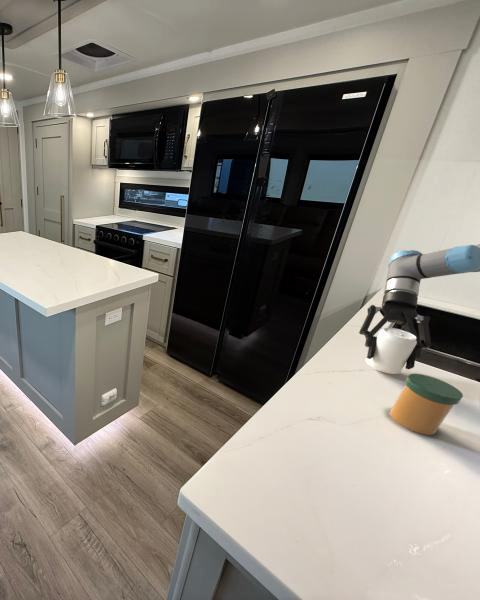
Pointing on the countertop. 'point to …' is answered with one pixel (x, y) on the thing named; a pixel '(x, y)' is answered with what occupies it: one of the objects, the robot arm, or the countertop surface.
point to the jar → (419, 412)
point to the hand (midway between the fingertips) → (389, 362)
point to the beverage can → (392, 350)
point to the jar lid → (433, 389)
